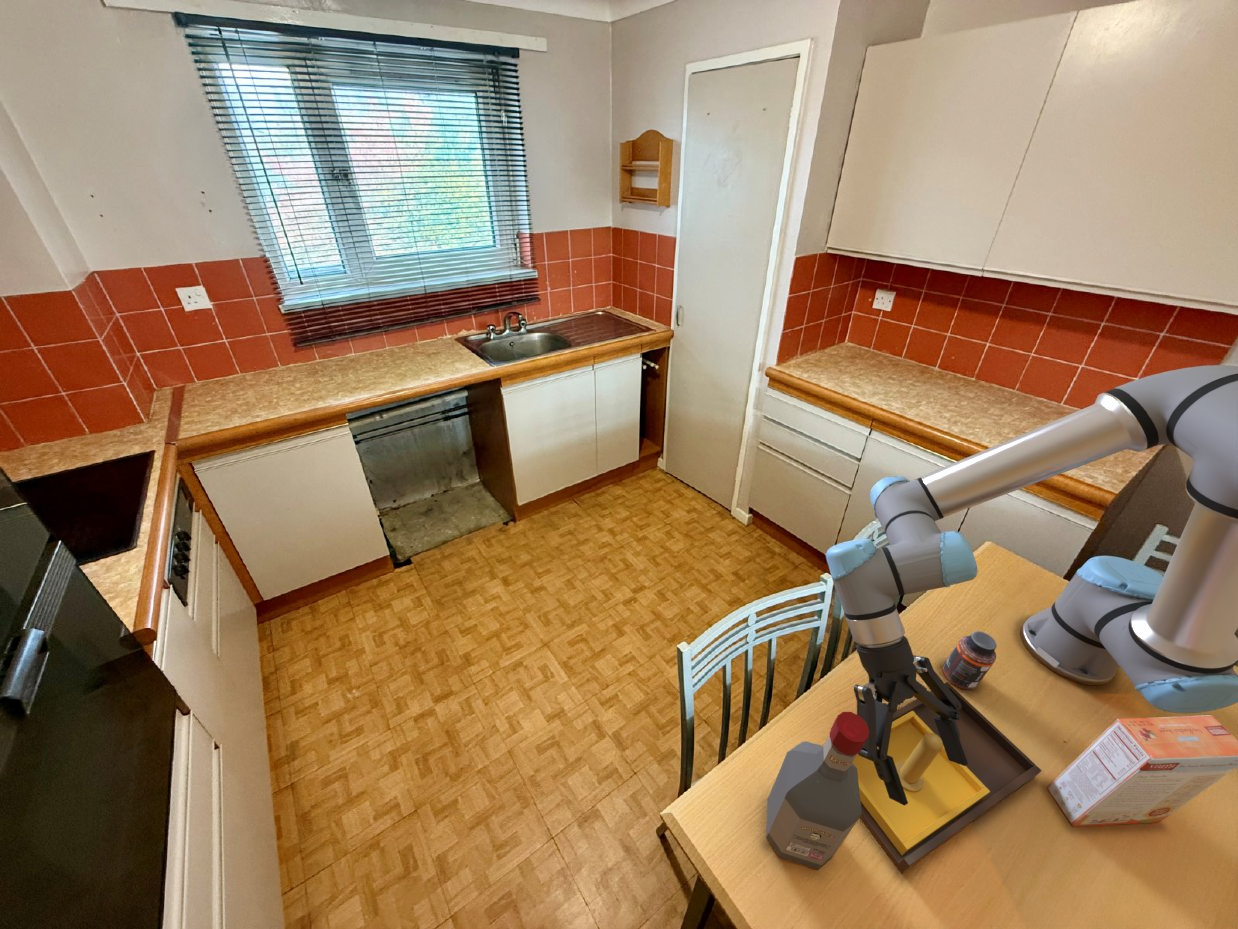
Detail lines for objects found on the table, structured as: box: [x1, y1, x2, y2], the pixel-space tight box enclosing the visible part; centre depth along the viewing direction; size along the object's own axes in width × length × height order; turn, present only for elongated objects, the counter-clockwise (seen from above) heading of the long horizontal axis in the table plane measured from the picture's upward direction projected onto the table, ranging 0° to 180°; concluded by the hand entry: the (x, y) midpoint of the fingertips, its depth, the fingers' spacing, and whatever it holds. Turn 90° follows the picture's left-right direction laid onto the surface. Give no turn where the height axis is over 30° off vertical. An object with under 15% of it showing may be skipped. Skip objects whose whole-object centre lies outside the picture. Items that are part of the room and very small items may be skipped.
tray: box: [852, 711, 990, 856], centre depth 77 cm, size 18×14×13 cm
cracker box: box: [1046, 714, 1238, 827], centre depth 73 cm, size 14×6×21 cm, turn 92°
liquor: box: [765, 711, 869, 871], centre depth 67 cm, size 9×9×30 cm
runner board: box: [859, 681, 1042, 875], centre depth 82 cm, size 30×17×3 cm, turn 115°
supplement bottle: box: [942, 630, 998, 690], centre depth 94 cm, size 6×6×11 cm
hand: (929, 781), depth 76 cm, fingers open, 12 cm apart
